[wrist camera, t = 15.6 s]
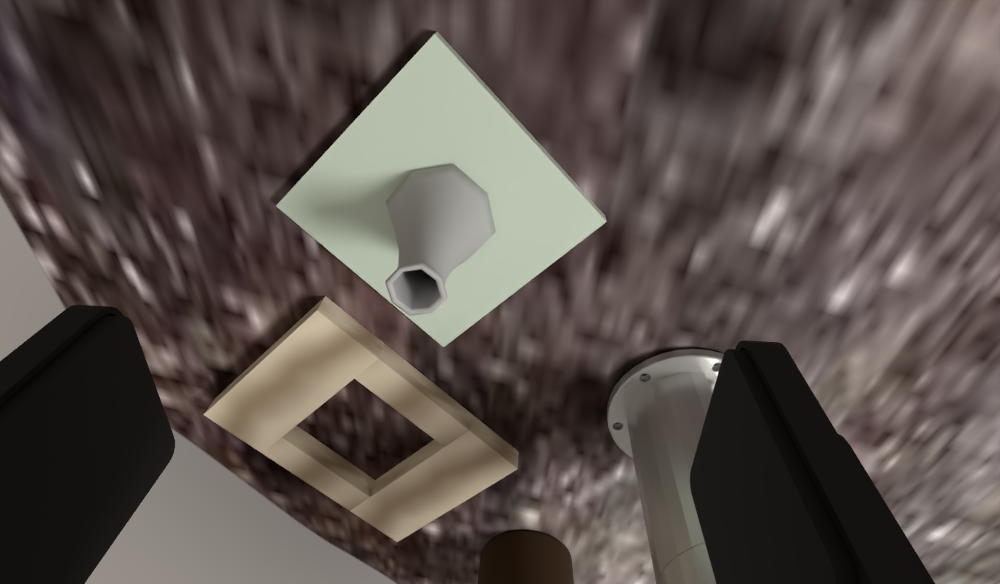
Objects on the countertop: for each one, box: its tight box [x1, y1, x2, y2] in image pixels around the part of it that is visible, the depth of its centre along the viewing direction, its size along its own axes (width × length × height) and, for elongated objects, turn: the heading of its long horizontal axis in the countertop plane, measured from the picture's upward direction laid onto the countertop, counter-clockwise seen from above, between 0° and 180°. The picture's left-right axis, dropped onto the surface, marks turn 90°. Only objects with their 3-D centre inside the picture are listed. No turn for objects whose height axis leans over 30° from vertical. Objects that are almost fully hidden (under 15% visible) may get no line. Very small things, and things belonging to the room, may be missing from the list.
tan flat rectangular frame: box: [204, 296, 518, 542], centre depth 51 cm, size 22×16×2 cm
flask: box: [385, 164, 496, 316], centre depth 36 cm, size 7×7×10 cm
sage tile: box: [276, 32, 607, 347], centre depth 40 cm, size 16×16×1 cm
